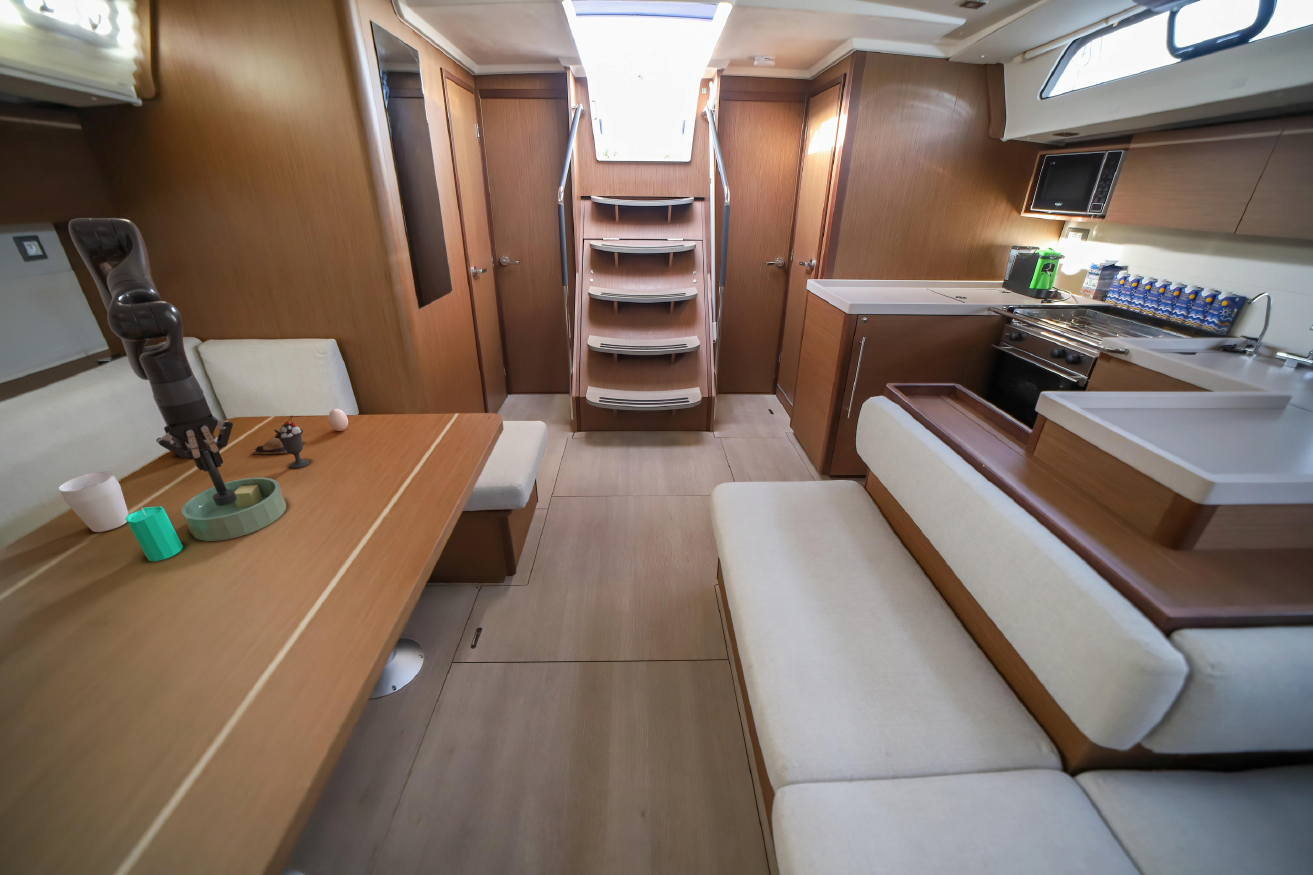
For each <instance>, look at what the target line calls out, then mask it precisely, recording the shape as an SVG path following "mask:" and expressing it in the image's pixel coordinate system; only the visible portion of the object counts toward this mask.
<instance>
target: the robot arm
mask: <svg viewBox="0 0 1313 875" xmlns="http://www.w3.org/2000/svg"><path fill="white" fill-rule="evenodd" d="M68 233H69V236H70V237H71V241H72V243H73V245H74V247H75V248H76V251H77V252H78V254H79V255H80V258H81V259H82V261H83V263H84V264H85V266H86V268H87V270H88V271H89V273H90V275H91V278H92V279H93V281H94V283H95V285H96V287H97V290H98V292H99V295H100V297H101V300H102V303H103V305H104V308H105V310H106V312H107V315H106V316H107V317H106V318H107V324H108V326H109V328H110V330H111V332H112V333H113V334H114V335H116V337H118V338H119V339H120V340H121V342H122V345H123V348H124V351H125V354H126V357H127V359H128V362H129V365H130V367H131V369H132V371H133V373H134V374H135V375H136V376H137V377H138V378H139V379H140V380H144V381H148V382H149V385H150V388H151V391H152V397H153V401H154V402H155V404H156V407H157V408H158V410H159V412H160V414H161V417H162V419H163V421H164V423H165V425H166V426H164V427H163V430H164V432H165V434H164V435H163V436H162V437H157V438H156V439H155V442H156V443H157V444H158V445H160V446H161V447H163V448H164V449H166V450H168V451H170V452H172V453H173V454H175V456H176V457H180V458H182V459H184V460H187V459H192V460H193V462H194V464H195V466H196V468H197V469H198V470H200V471H203V472H204V473H206V472H208V471H209V470H208V468H207V465H206V463H205V461H204V459H203V457H202V456H201V455H200V450H201V449H204V448H206V449H209V450H210V452H211V454H212V457H213V459H214V461H215V464H216V466H217V468H221V467H222V464H224V460H223V457H222V455H221V453H220V450H221V449H222V448H226V447H227V446H228V443H229V440H230V436H231V433H232V429H233V427H234V423H233V422H232V421H230V420H229V419H223V420H222V419H218V418H216V417H215V416H214V415H213V414H212V411H211V408H210V406H209V404H208V402H207V399H206V397H205V394H204V390H203V389H202V386H201V384H200V383H199V381H198V379H197V378H196V376H195V374H194V372H193V369H192V367H191V365H190V362H189V360H188V357H187V354H186V350H185V345H184V322H183V321H184V320H183V316H182V314H181V312H180V311H179V309H178V308H177V307H176V306H175V305H174V304H172V303H171V302H168V301H165V300H162V297H161V295H160V293H159V291H158V288H157V286H156V284H155V282H154V279H153V275H152V268H151V261H150V257H149V252H148V248H147V245H146V242H145V239H144V238H143V237H144V236H143V234H142V232H141V231H140V229H139V227H138V226H137V225H136V224H135V223H134V222H133V221H132V220H129V219H127V218H118V217H110V218H109V217H79V218H77V217H76V218H73V219H70V220H69V222H68ZM109 263H113V264H114V263H116V264H114V265H113V266H111V265H110V264H109ZM163 338H165V339H166V341H165V343H160V344H159V343H158V344H153V345H147V342H148V341H149V340H156V339H163ZM216 428H218V429H219V432H218V436H215V430H216Z"/></svg>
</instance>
